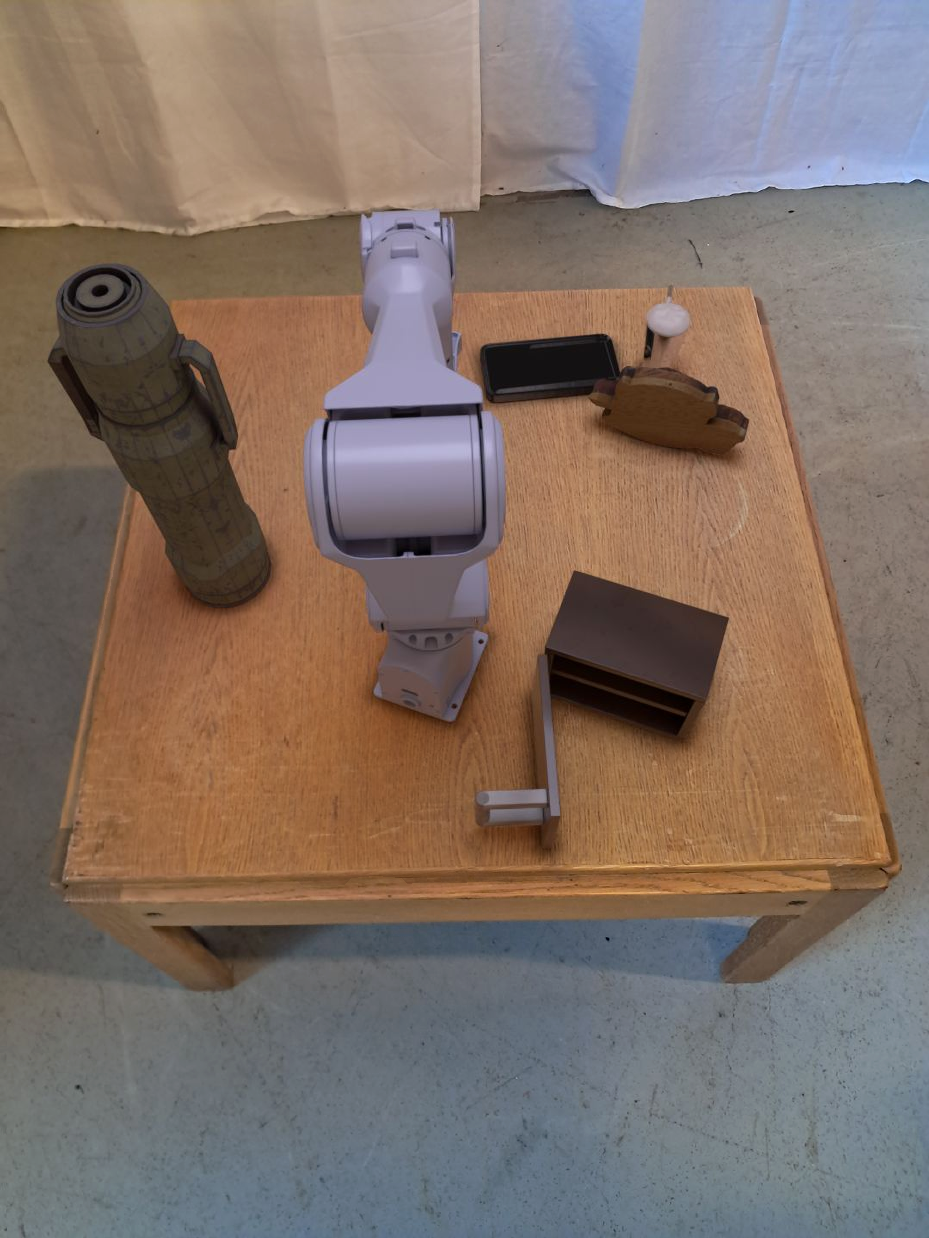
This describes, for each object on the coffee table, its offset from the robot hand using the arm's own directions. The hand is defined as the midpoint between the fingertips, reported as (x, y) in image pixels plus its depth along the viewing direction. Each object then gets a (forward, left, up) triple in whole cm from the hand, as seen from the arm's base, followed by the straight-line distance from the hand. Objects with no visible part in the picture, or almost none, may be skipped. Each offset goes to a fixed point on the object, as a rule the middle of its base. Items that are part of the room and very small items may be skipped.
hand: (425, 459), depth 84 cm
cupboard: (-10, -23, -10) cm, 27 cm away
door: (-22, -16, -10) cm, 29 cm away
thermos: (-12, +17, -11) cm, 23 cm away
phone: (+24, -5, -10) cm, 27 cm away
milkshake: (+28, -16, -11) cm, 34 cm away
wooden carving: (+19, -19, -11) cm, 29 cm away
